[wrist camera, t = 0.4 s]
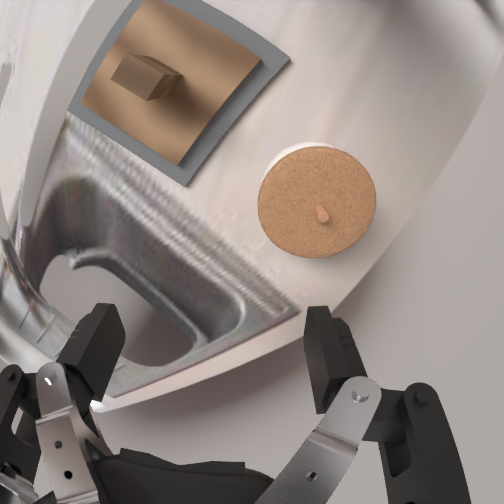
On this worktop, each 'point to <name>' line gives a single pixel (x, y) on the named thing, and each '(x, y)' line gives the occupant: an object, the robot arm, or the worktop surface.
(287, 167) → the lidded jar
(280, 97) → the worktop surface
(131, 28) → the lid
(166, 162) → the mat
